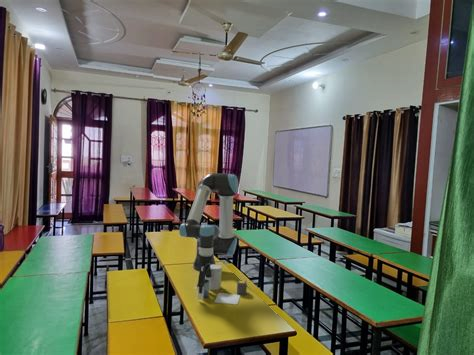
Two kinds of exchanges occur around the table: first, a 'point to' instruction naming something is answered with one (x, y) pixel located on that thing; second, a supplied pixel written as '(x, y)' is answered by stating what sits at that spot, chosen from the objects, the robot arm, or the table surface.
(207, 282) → the cylinder
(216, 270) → the cup
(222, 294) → the mat
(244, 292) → the relay block
